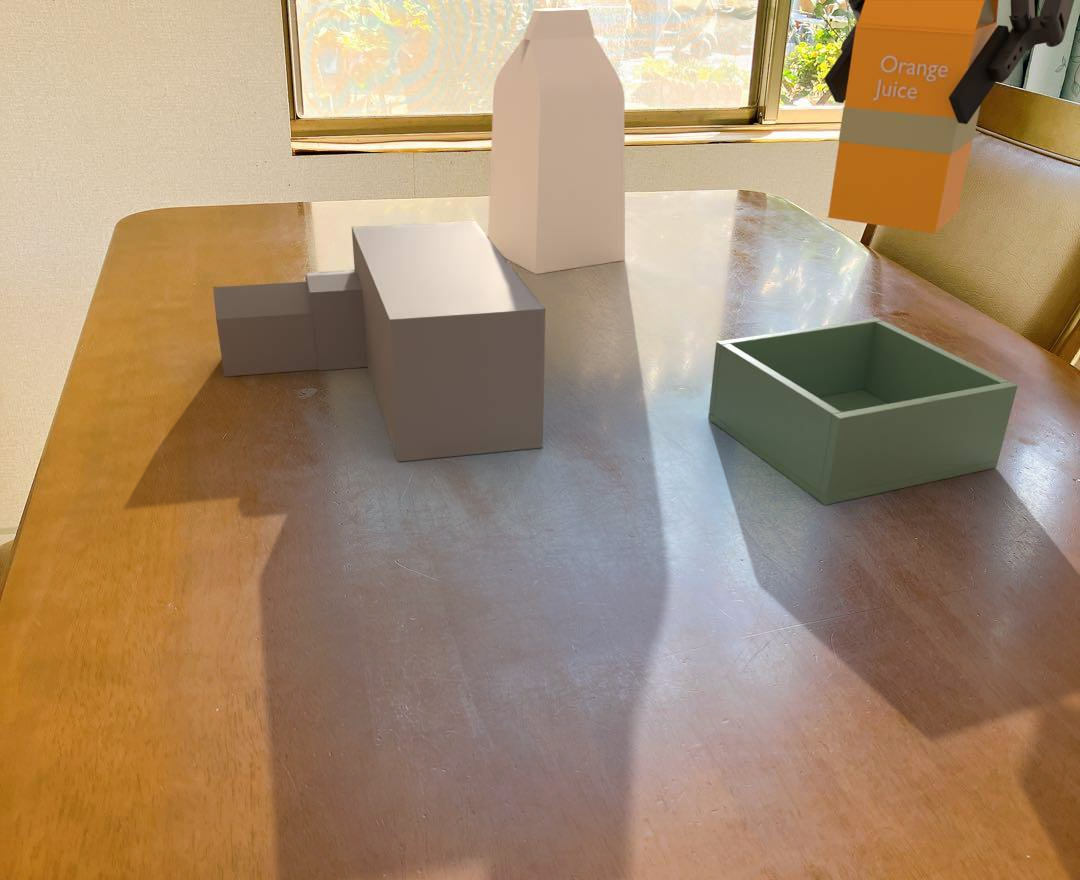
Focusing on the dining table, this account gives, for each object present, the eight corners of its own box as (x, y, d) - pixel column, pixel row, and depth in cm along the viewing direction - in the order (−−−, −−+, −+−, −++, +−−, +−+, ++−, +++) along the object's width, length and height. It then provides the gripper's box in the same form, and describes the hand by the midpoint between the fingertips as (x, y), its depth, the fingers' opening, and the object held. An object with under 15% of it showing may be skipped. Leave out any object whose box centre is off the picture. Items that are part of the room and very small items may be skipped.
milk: (535, 274, 120) (539, 15, 107) (487, 248, 129) (485, 6, 115) (624, 260, 125) (639, 12, 112) (573, 236, 134) (580, 3, 121)
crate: (996, 467, 81) (1018, 385, 77) (824, 505, 75) (840, 418, 72) (863, 391, 93) (877, 317, 89) (707, 419, 87) (715, 341, 84)
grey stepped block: (223, 354, 98) (206, 233, 92) (476, 335, 103) (474, 220, 97) (226, 478, 77) (204, 332, 71) (542, 447, 82) (545, 308, 77)
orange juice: (935, 233, 85) (993, -57, 75) (826, 217, 89) (866, -61, 78) (958, 213, 90) (1015, -60, 80) (855, 199, 94) (896, -63, 84)
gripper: (910, -169, 89) (760, 49, 88) (1201, -180, 73) (1019, 85, 73) (936, -94, 94) (794, 112, 94) (1210, -89, 79) (1042, 158, 78)
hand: (892, 100), depth 83 cm, fingers closed on orange juice, 11 cm apart
